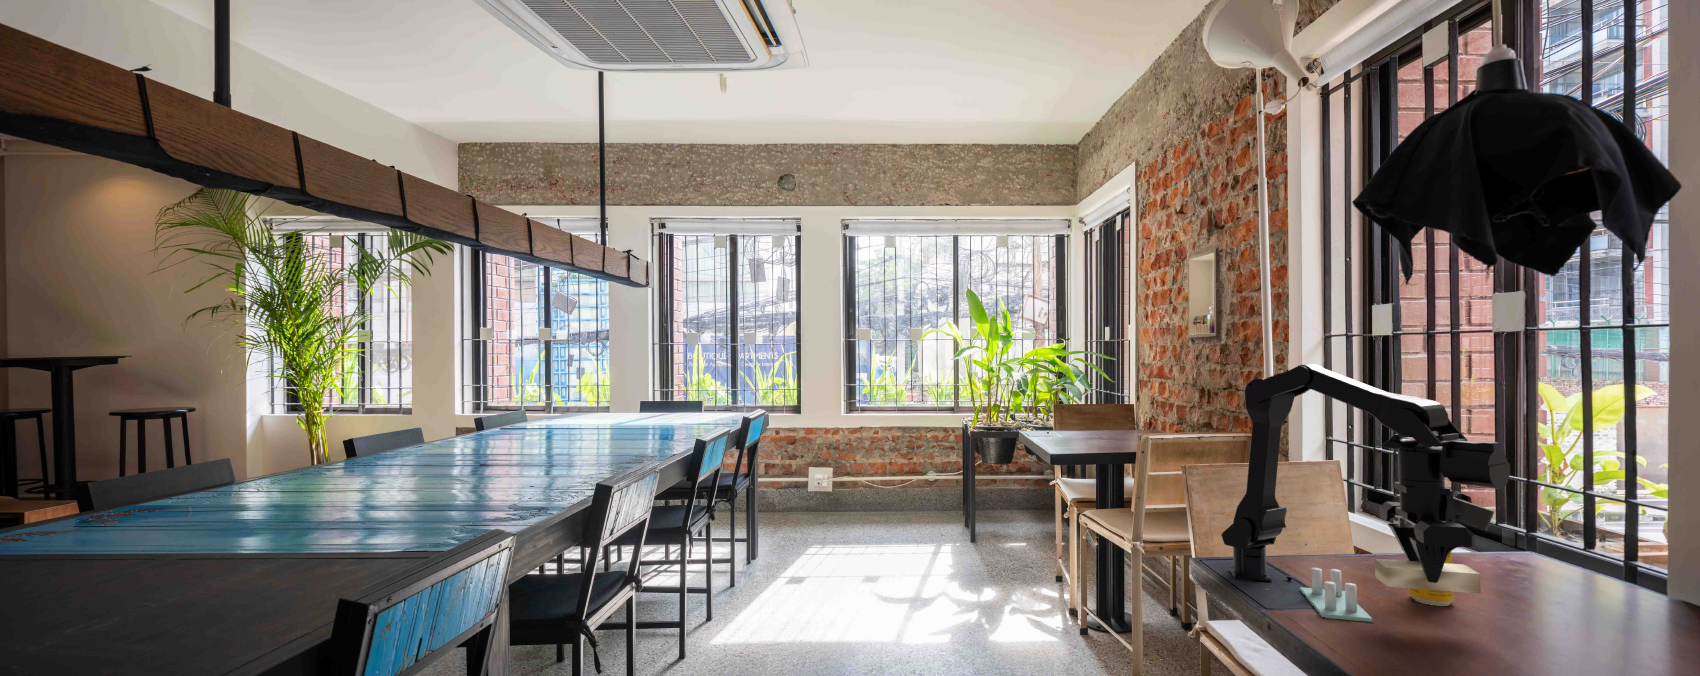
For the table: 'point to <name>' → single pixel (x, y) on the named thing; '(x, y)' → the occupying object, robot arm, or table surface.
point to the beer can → (1434, 592)
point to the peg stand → (1334, 597)
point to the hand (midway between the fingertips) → (1425, 576)
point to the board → (1414, 577)
